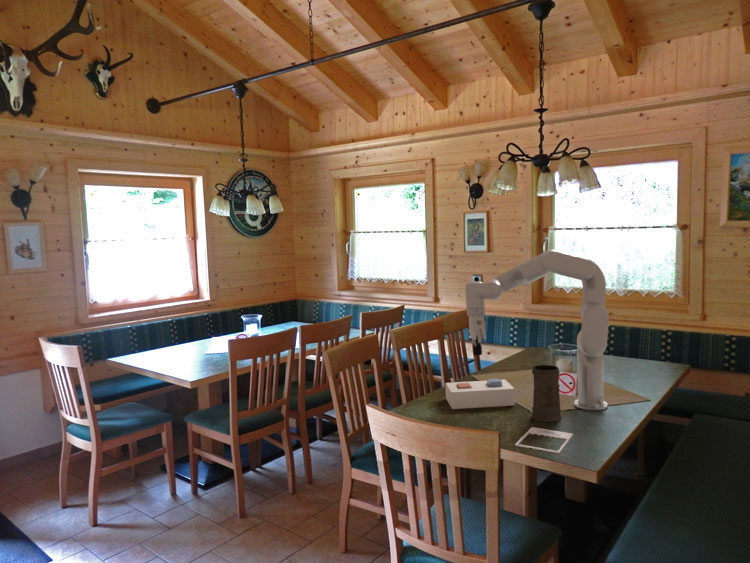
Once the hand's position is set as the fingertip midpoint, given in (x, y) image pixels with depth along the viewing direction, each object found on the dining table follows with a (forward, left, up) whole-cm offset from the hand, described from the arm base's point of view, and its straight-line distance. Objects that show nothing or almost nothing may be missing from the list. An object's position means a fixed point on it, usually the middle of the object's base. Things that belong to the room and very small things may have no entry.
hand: (477, 354), depth 235 cm
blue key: (0, -7, -15) cm, 17 cm away
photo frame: (-45, -12, -21) cm, 51 cm away
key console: (0, 0, -20) cm, 20 cm away
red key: (0, +6, -17) cm, 18 cm away
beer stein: (-21, -20, -21) cm, 36 cm away
